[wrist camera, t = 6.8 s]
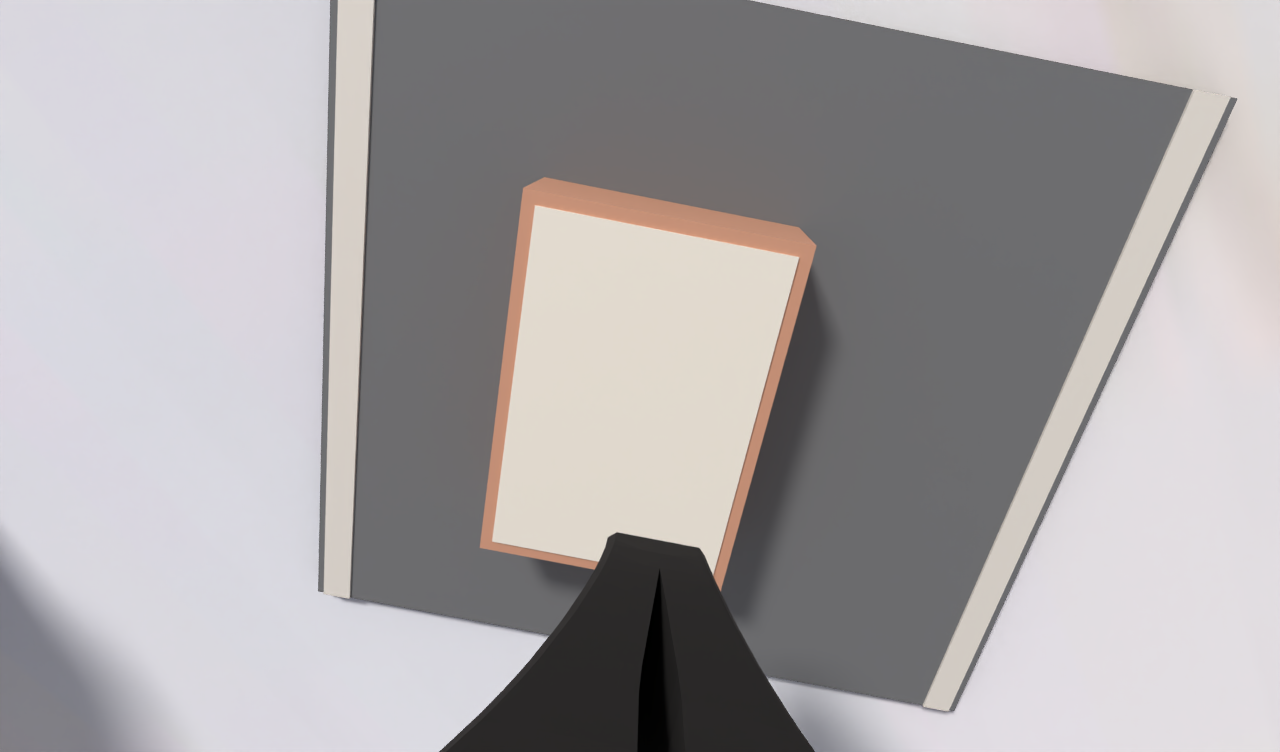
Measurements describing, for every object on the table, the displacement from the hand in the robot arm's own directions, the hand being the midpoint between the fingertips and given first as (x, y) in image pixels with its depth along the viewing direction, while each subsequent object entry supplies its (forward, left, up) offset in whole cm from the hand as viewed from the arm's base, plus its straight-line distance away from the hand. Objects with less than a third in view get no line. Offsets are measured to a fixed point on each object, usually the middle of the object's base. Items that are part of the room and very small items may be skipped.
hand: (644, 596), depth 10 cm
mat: (+1, 0, -9) cm, 9 cm away
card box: (-4, 0, -8) cm, 8 cm away
